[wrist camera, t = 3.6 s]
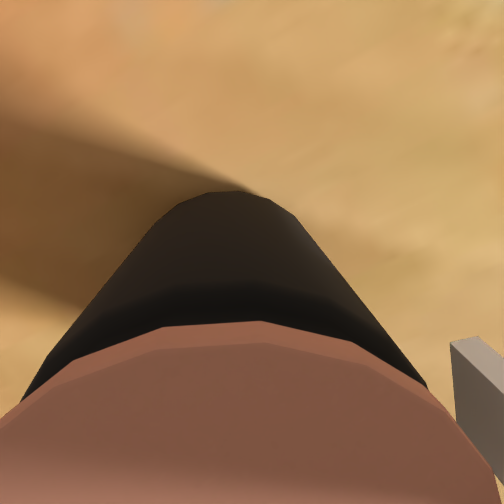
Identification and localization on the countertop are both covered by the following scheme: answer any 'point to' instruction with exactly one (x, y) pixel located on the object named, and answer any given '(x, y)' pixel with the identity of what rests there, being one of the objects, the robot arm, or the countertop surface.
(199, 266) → the coffee jar
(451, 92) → the countertop surface
